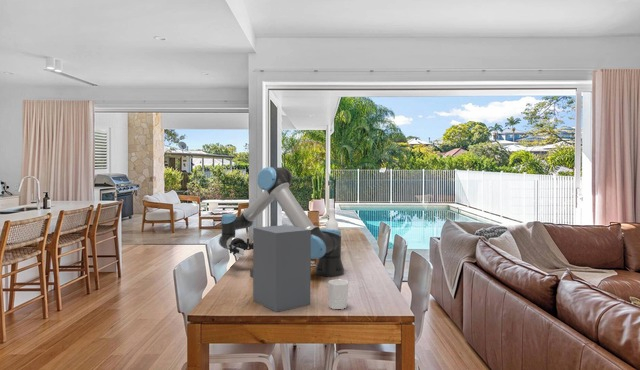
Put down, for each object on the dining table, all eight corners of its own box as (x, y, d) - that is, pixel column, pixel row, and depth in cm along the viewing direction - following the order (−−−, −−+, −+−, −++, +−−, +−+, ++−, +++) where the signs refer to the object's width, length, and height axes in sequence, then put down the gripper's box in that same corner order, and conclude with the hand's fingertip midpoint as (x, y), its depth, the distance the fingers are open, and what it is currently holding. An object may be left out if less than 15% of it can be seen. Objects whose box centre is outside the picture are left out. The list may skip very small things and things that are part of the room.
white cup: (327, 304, 171) (327, 279, 171) (346, 303, 172) (346, 279, 171) (329, 310, 163) (329, 284, 163) (349, 310, 164) (349, 284, 164)
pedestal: (253, 300, 175) (253, 227, 174) (286, 293, 185) (286, 224, 184) (275, 312, 161) (276, 233, 160) (310, 304, 170) (310, 229, 169)
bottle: (340, 256, 266) (340, 208, 265) (329, 257, 262) (330, 208, 261) (333, 254, 273) (333, 207, 272) (322, 255, 269) (323, 207, 268)
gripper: (256, 249, 237) (276, 255, 220) (214, 254, 222) (232, 261, 205) (256, 235, 237) (276, 241, 220) (214, 239, 222) (232, 245, 205)
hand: (255, 250), depth 213 cm, fingers open, 13 cm apart
